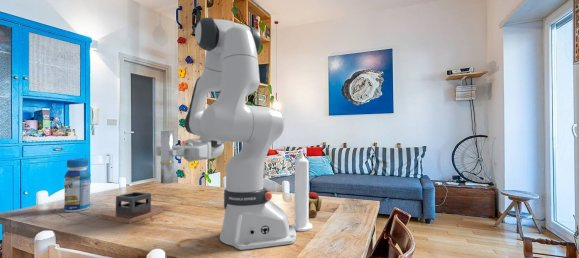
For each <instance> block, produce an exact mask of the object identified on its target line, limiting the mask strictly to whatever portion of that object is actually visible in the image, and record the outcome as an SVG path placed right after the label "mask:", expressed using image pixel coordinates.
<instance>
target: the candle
mask: <svg viewBox="0 0 579 258" xmlns="http://www.w3.org/2000/svg"><path fill="white" fill-rule="evenodd" d="M299 154H300V155H299V157H298V158H296V159H295V160H294V222H292V223H291V224H290V225H291V226H292V227H293V228H294V229H295V231H296V232H297V231H298V232H307V231H311V230H312V229H313V223H310V222H309V217H310V216H309V208H310V206H309V192H310V191H309V185H310V184H309V175H310V174H309V168H310V167H309V166H310V165H309V160H308V158H306V157H305V156H304V151H303V150H301V151H300V153H299Z"/></svg>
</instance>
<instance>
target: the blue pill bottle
mask: <svg viewBox="0 0 579 258" xmlns="http://www.w3.org/2000/svg"><path fill="white" fill-rule="evenodd" d="M88 167H89V158H70V159H67V160H66V168H67V169H68V170H67V171H66V172H65V174H64V182H63V187H64V202H63V204H64V206H63V211H64V212H66V213H77V212H82V211H86V210H89V209H90V208H91V200H90V199H91V195H90V194H91V183H92V180H91V179H90V178H91V176H92V175H91V172H90V171H89V169H88Z"/></svg>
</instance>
